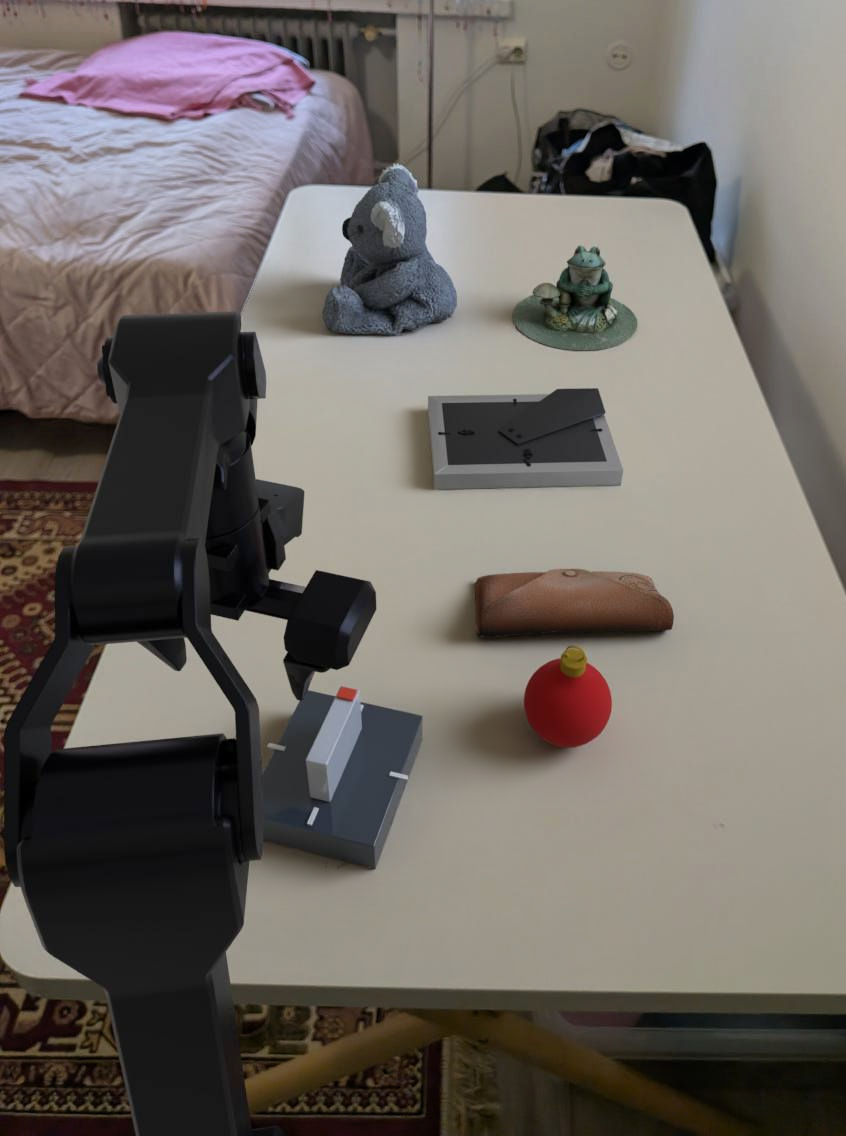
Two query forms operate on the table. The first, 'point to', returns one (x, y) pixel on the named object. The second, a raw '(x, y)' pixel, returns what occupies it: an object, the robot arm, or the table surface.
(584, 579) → the sunglasses case
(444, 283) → the koala plush
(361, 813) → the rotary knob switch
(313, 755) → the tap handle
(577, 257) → the frog figurine
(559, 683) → the christmas ornament
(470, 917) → the table surface
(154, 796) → the robot arm
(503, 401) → the picture frame
